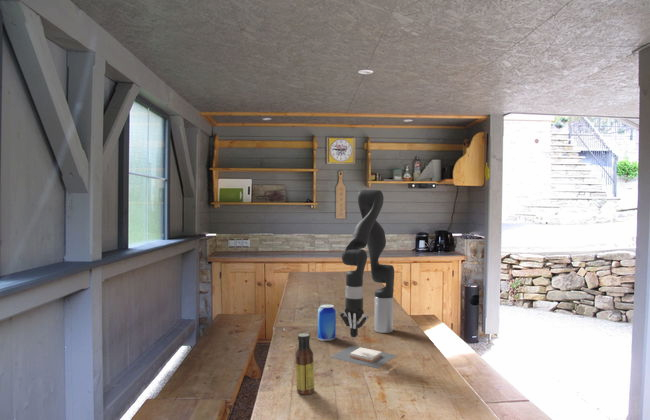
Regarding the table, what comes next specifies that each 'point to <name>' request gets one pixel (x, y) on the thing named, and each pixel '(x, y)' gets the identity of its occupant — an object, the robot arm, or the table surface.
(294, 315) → the table surface
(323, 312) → the beer can
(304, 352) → the sauce bottle
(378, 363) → the mat
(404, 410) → the table surface
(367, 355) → the tile
